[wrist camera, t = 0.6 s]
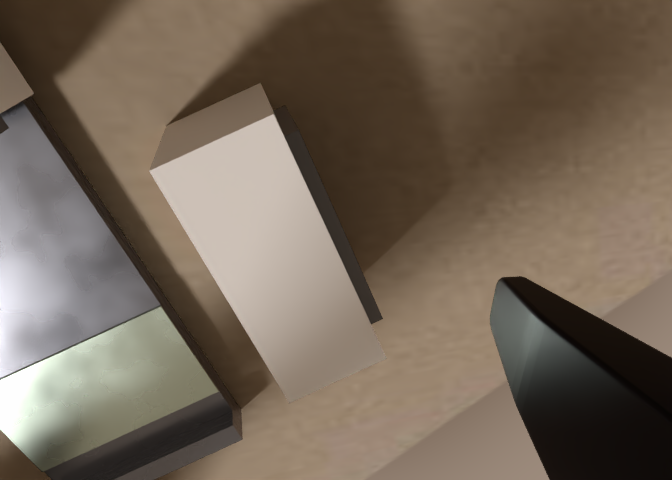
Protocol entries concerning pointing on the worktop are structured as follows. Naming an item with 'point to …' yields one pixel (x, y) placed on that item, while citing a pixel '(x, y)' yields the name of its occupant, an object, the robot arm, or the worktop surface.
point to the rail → (91, 330)
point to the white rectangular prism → (270, 239)
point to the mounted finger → (10, 86)
